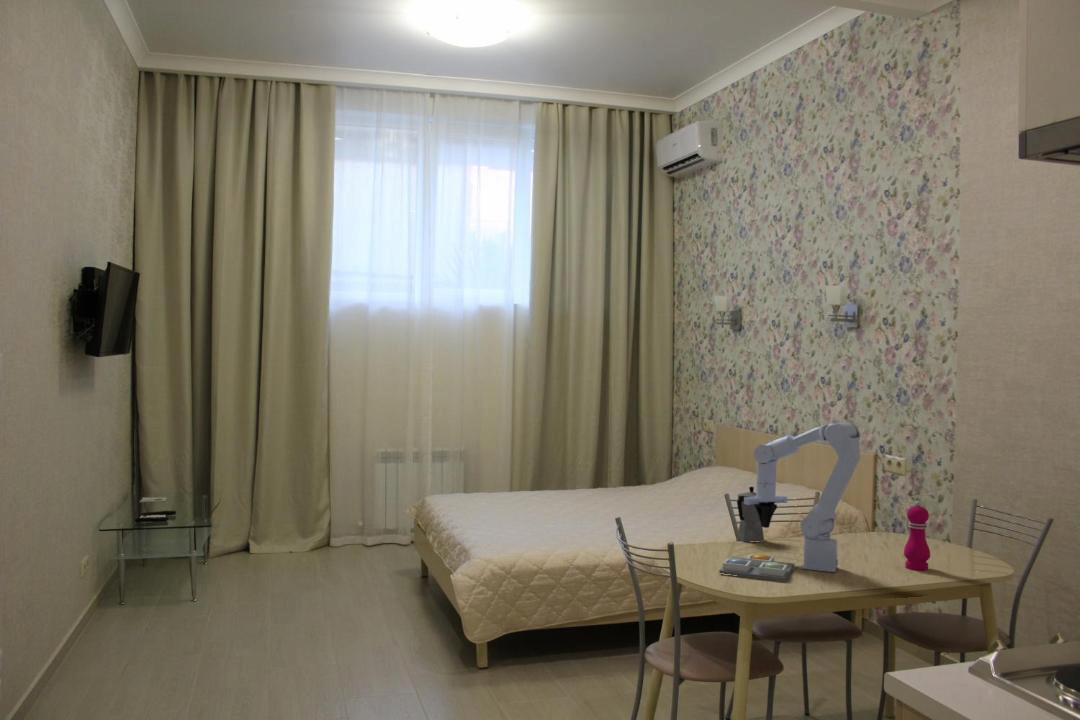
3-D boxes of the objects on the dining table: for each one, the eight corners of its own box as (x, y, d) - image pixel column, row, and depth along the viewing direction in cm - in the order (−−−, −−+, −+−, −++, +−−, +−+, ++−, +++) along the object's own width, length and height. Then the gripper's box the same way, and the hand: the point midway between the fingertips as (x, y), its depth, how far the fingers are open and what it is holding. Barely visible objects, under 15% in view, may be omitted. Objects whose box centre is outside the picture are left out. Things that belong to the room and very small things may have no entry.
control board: (794, 567, 256) (794, 557, 256) (784, 582, 239) (785, 571, 239) (732, 560, 263) (732, 550, 263) (719, 574, 246) (719, 563, 246)
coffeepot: (747, 535, 303) (748, 483, 303) (772, 539, 296) (773, 486, 296) (724, 541, 291) (725, 487, 291) (750, 545, 285) (751, 490, 285)
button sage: (782, 569, 246) (782, 563, 246) (780, 572, 242) (780, 566, 242) (765, 567, 248) (766, 561, 248) (763, 570, 244) (763, 564, 244)
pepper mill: (935, 569, 257) (936, 502, 257) (919, 572, 253) (920, 503, 253) (914, 564, 263) (915, 498, 263) (898, 566, 260) (899, 499, 260)
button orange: (769, 560, 256) (769, 555, 256) (767, 564, 252) (767, 558, 252) (753, 559, 258) (753, 553, 258) (750, 562, 254) (751, 556, 254)
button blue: (746, 565, 250) (746, 559, 250) (743, 568, 246) (743, 562, 246) (730, 563, 252) (730, 557, 252) (727, 566, 248) (727, 560, 248)
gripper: (777, 480, 275) (776, 523, 275) (738, 481, 269) (737, 525, 269) (791, 483, 268) (790, 527, 268) (752, 485, 263) (751, 530, 263)
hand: (765, 527), depth 268 cm, fingers closed
